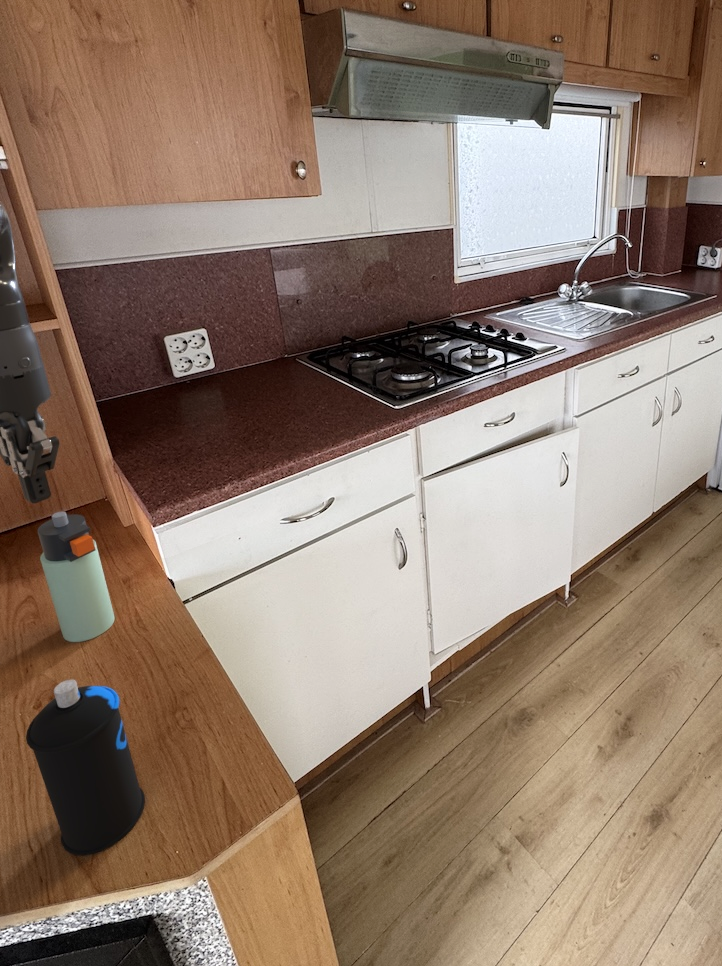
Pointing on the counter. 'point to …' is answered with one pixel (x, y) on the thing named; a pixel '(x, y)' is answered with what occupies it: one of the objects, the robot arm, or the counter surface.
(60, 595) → the sports bottle
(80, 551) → the nozzle button
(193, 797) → the counter surface
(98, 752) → the black bottle
